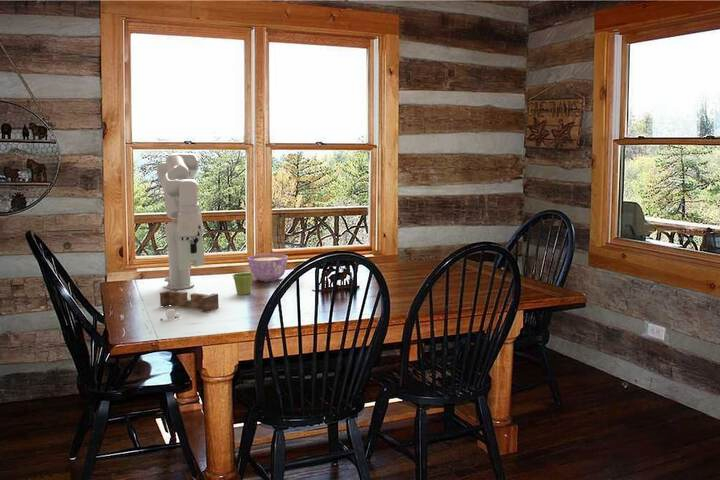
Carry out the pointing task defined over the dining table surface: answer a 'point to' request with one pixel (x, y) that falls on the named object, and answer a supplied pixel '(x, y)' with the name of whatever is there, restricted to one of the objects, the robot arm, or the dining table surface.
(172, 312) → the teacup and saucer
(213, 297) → the walnut slot rail
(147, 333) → the dining table surface
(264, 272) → the bowl of food
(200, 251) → the sage slot plate
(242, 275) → the plant pot
